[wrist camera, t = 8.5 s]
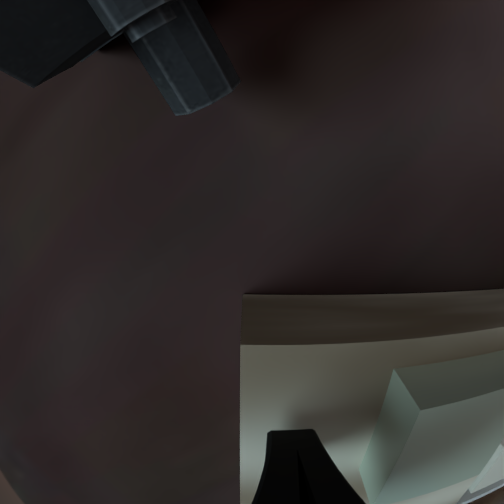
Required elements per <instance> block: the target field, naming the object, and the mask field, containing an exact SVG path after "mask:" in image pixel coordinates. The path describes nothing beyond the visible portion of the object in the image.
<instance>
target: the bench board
mask: <svg viewBox="0 0 504 504" xmlns="http://www.w3.org/2000/svg"><path fill="white" fill-rule="evenodd" d="M501 350H504V289H492V290H476V291H457V292H435V293H407V294H366V295H252V294H243V300H242V322H241V346H240V504H251V503H252V501H253V498H254V496H255V493H256V491H257V488H258V485H259V481H260V478H261V474H262V471H263V467H264V463H265V454H266V441H267V433H268V432H270V431H271V430H299V429H313V430H315V431H316V433H317V435H318V437H319V439H320V441H321V442H322V444H323V446H324V448H325V449H326V451H327V453H328V454H329V456H330V457H331V459H332V460H333V462H334V463H335V465H336V466H337V468H338V469H339V471H340V472H341V473H342V475H343V476H344V477H345V479H346V480H347V481H348V483H349V484H350V485H351V486H352V488H353V489H354V490H355V491H356V493H357V494H358V495H359V496H360V497H361V498H362V499H363V501H364V502H365V503H366V504H370V503H369V500H368V497H367V493H366V490H365V487H364V484H363V481H362V478H361V475H360V472H359V467H360V465H361V463H362V460H363V458H364V455H365V453H366V450H367V448H368V445H369V442H370V440H371V437H372V434H373V432H374V429H375V426H376V423H377V420H378V417H379V414H380V412H381V409H382V405H383V402H384V399H385V396H386V393H387V390H388V386H389V383H390V380H391V376H392V373H393V369H394V368H403V367H411V366H418V365H425V364H432V363H439V362H445V361H451V360H457V359H462V358H467V357H473V356H478V355H483V354H487V353H492V352H497V351H501ZM477 476H478V475H476V476H474V477H472V478H469V479H467V480H464V481H462V482H459V483H456V484H454V485H451V486H448V487H445V488H442V489H440V490H437V491H434V492H430V493H427V494H424V495H421V496H417V497H414V498H410V499H407V500H403V501H399V502H395V503H391V504H456V503H457V502H458V501H459V499H460V498H461V497H462V496H463V494H464V493H465V492H466V491H467V489H468V488H469V487H470V486H471V484H472V483H473V482H474V480H475V479H476V478H477Z"/></svg>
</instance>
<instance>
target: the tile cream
mask: <svg viewBox="0 0 504 504" xmlns="http://www.w3.org/2000/svg"><path fill="white" fill-rule="evenodd" d="M503 478H504V438H503V440H502V442H501V443H500V445H499V446H498V448H497V449H496V451H495V452H494V454H493V455H492V457H491V458H490V460H489V461H488V463H487V464H486V466H485V467H484V469H483V470H482V471H481V473H480V474H479V475H478V476H477V478H476V479H475V480H474V482H473V483H472V484H471V486H470V487H469V488H468V489H469V491H470V493H474V492H476V491H478V490H480V489H482V488H485V487H487V486H489V485H491V484H493V483H495V482H497V481H499V480H501V479H503Z"/></svg>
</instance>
